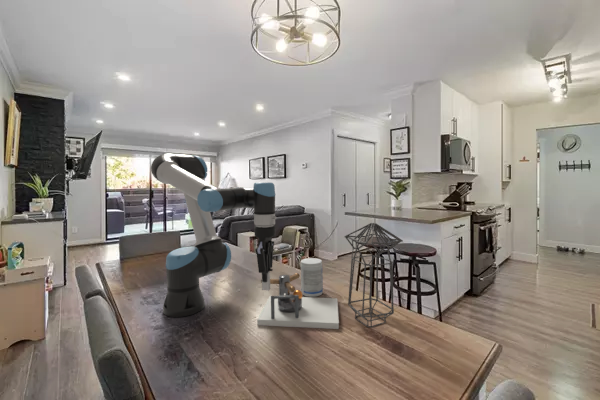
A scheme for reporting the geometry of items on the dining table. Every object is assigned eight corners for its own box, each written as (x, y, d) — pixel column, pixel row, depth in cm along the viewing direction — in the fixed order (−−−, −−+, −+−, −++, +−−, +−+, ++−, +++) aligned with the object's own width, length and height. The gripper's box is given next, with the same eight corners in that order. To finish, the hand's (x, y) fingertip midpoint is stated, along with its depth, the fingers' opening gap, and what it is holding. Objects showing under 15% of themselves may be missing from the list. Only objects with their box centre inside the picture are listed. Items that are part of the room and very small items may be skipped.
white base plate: (257, 325, 98) (256, 295, 98) (269, 300, 118) (269, 275, 118) (338, 329, 95) (338, 298, 95) (337, 303, 115) (337, 277, 114)
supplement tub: (327, 294, 124) (327, 261, 123) (309, 299, 119) (309, 265, 118) (313, 287, 132) (313, 256, 131) (296, 292, 127) (296, 259, 126)
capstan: (255, 315, 100) (255, 283, 100) (266, 297, 116) (265, 269, 115) (300, 317, 99) (300, 284, 98) (304, 298, 114) (304, 270, 114)
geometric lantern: (340, 314, 106) (341, 221, 104) (374, 307, 112) (376, 219, 110) (366, 335, 91) (368, 227, 89) (404, 326, 97) (406, 224, 95)
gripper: (268, 229, 95) (269, 297, 96) (280, 223, 107) (281, 283, 109) (247, 228, 96) (249, 295, 98) (262, 222, 109) (263, 282, 111)
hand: (266, 289), depth 104 cm, fingers closed
